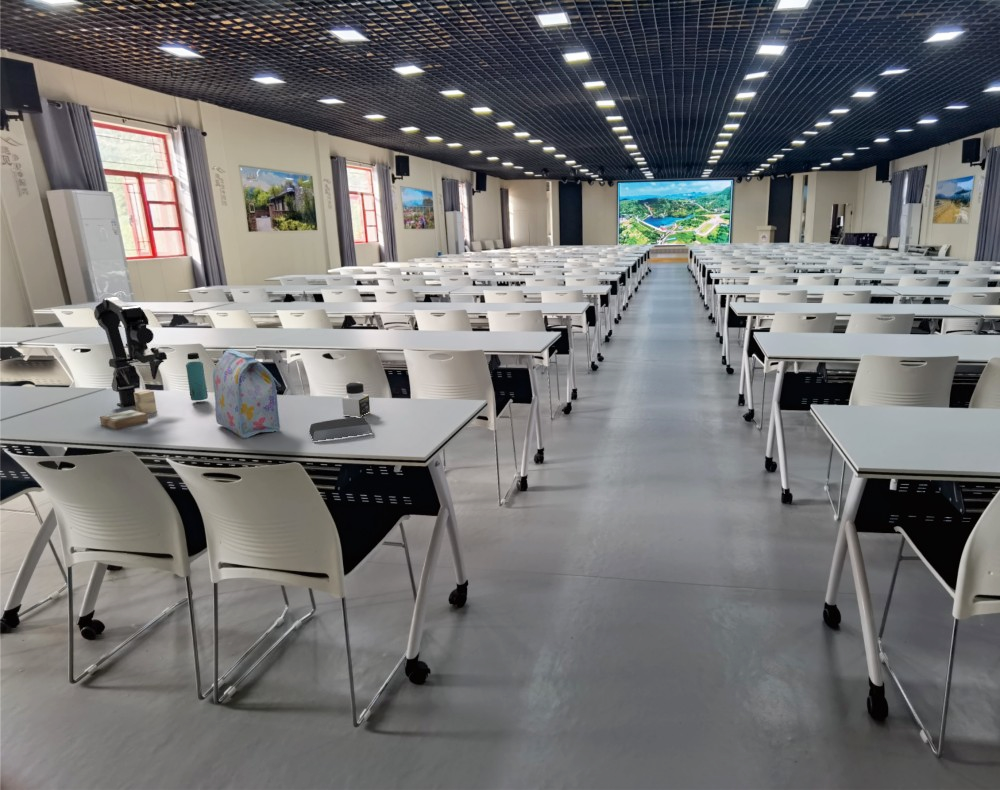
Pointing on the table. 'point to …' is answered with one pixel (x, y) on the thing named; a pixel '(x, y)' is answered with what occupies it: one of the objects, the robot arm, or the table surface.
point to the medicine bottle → (355, 400)
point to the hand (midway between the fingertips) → (142, 381)
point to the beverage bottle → (196, 378)
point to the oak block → (145, 401)
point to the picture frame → (123, 419)
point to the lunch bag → (245, 395)
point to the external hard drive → (339, 428)
